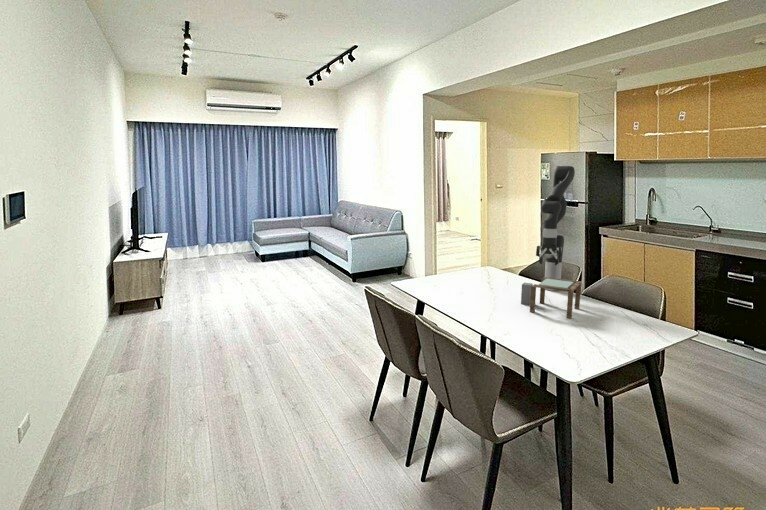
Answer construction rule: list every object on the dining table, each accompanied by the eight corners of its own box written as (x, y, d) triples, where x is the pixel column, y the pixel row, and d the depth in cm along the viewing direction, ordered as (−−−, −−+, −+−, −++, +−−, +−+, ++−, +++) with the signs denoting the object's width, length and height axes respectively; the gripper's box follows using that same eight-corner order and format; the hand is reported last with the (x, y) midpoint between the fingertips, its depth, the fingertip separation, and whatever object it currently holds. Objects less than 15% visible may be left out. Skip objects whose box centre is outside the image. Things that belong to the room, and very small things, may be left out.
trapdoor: (546, 280, 247) (546, 278, 247) (575, 284, 239) (575, 281, 238) (538, 286, 235) (538, 284, 235) (568, 290, 227) (568, 288, 227)
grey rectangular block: (523, 301, 255) (524, 282, 253) (531, 303, 252) (532, 283, 250) (520, 303, 251) (521, 284, 249) (529, 305, 249) (530, 285, 247)
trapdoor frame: (540, 302, 253) (542, 276, 251) (579, 308, 242) (581, 281, 240) (529, 312, 237) (531, 284, 234) (570, 318, 226) (572, 290, 223)
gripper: (564, 236, 261) (563, 264, 264) (539, 235, 270) (538, 262, 273) (560, 237, 255) (559, 266, 258) (535, 236, 264) (533, 264, 267)
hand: (548, 264), depth 265 cm, fingers open, 8 cm apart
